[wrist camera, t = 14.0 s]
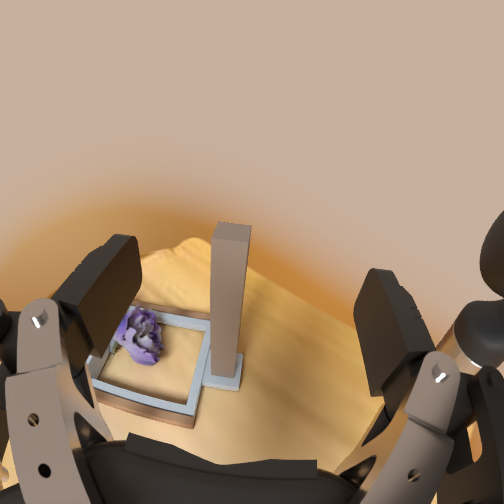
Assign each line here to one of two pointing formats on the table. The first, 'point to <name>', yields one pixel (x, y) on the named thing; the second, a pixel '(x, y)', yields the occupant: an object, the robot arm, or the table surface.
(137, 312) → the flower
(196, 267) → the table surface
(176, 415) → the frame
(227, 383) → the frame with upright post
